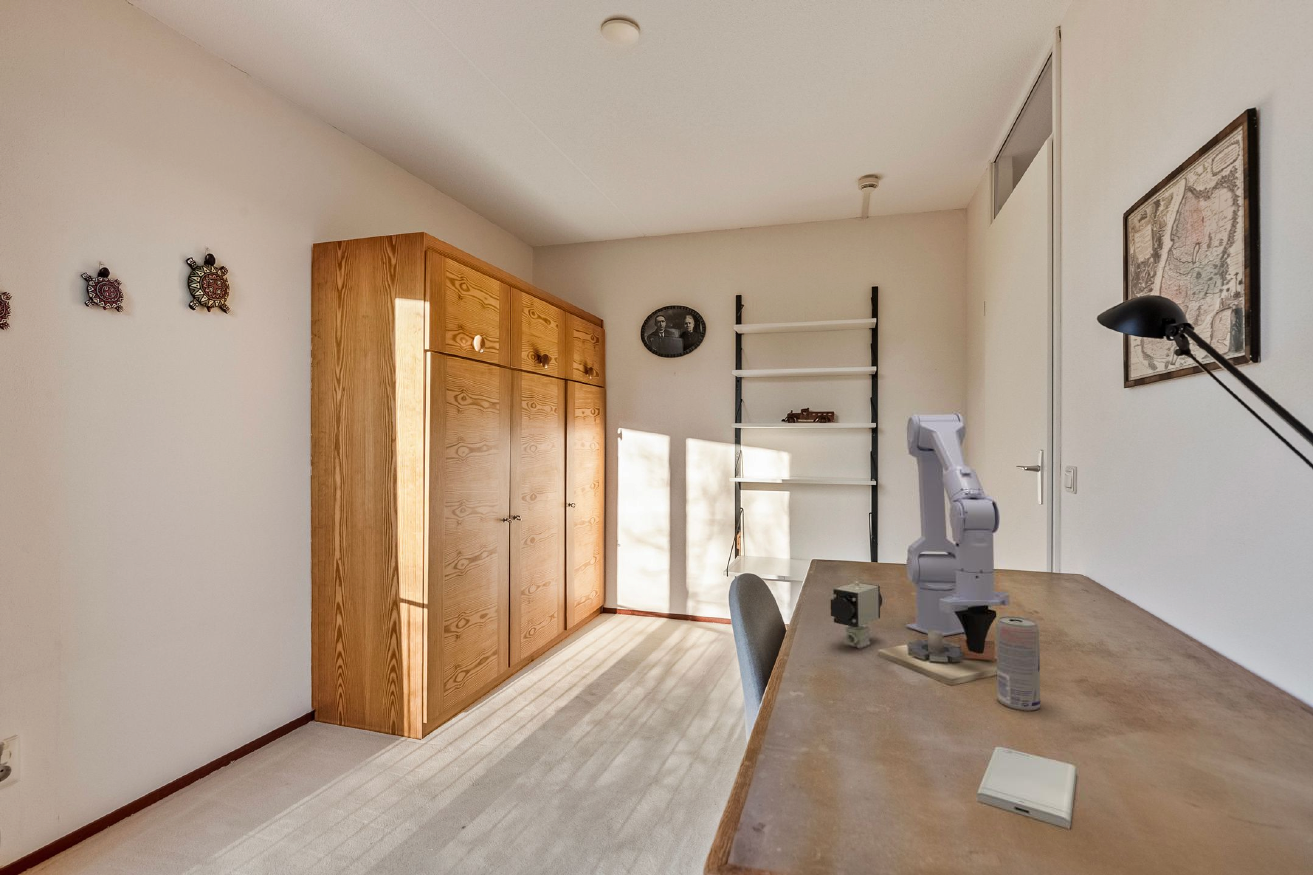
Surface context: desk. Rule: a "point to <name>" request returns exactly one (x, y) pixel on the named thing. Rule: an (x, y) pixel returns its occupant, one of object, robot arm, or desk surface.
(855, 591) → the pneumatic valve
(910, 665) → the board
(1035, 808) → the hard drive
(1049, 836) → the desk surface
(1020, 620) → the energy drink
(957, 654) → the segmented ring with bar
